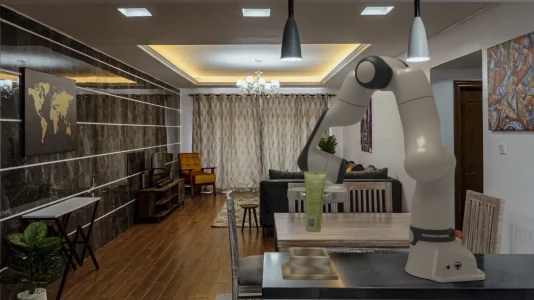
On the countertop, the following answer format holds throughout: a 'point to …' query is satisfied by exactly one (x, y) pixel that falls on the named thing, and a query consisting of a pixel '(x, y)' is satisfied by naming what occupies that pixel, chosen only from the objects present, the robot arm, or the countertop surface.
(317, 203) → the tube
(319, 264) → the socket stand
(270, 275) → the countertop surface
